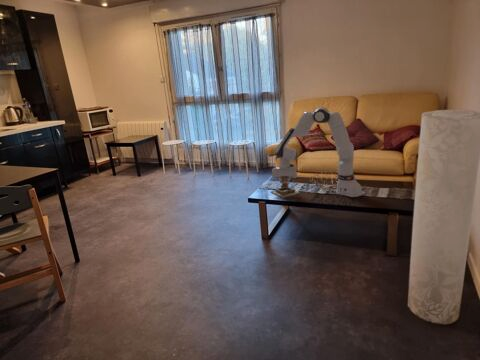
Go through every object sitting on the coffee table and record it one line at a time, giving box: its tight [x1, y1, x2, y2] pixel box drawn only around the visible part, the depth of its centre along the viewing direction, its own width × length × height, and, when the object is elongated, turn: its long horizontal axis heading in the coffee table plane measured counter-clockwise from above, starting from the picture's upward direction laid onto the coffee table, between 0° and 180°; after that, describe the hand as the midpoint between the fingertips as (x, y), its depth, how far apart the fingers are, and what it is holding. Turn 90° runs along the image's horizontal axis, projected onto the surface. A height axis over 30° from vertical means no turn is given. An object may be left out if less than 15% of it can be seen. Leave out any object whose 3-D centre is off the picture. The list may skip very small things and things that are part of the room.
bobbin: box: [280, 177, 289, 188], centre depth 271 cm, size 6×6×8 cm
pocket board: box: [270, 186, 301, 199], centre depth 273 cm, size 17×17×3 cm
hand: (284, 182), depth 270 cm, fingers closed on bobbin, 5 cm apart
